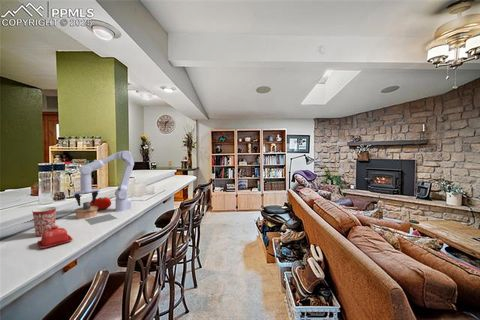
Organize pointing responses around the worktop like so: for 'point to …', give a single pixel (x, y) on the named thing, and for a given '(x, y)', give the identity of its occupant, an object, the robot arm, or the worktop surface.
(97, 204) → the tomato
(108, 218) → the mat
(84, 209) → the lid
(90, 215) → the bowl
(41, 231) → the mug
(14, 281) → the worktop surface
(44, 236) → the butter dish
